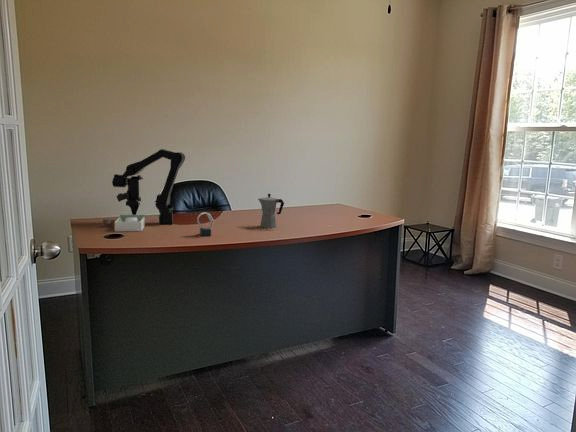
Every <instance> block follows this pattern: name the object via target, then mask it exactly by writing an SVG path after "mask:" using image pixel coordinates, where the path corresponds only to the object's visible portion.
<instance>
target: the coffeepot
mask: <svg viewBox="0 0 576 432" xmlns="http://www.w3.org/2000/svg"><path fill="white" fill-rule="evenodd" d="M257 200H258V201H259V204H260V206H261V212H262V215H261V218H260V219H261V220H260V225H259V227H261V228H263V229H275V228H277V221H276V220H277V219H276V214H277V215H281V213H282V210H283V208H284V205H285V202H284V200H283V199H282V198H274V197H271V193H268V194H267V197H260V198H258V199H257ZM278 203H280V204H279V208H278V212H276V209H277V204H278Z"/></svg>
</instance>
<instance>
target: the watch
mask: <svg viewBox="0 0 576 432" xmlns="http://www.w3.org/2000/svg"><path fill="white" fill-rule="evenodd" d="M205 214H206V217H207V218H208V220H209V222H210V225H209V226H207V227H203V225H202V224H201V222H200V217H201V216H202V215H205ZM196 219H197V220H196V222H197V224H198V226H199V227H200V228H199V235H200V236H201V237H211V236H212V230H211V228H212V227H213V225H214V222H215V220H214V218H213V216H212V215H211V213H210V212H201V213H199V214H198V216H197V218H196Z"/></svg>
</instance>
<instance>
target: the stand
mask: <svg viewBox="0 0 576 432" xmlns="http://www.w3.org/2000/svg"><path fill="white" fill-rule="evenodd" d="M102 227H103V228H110V227H112V219H110V218H103V219H102Z"/></svg>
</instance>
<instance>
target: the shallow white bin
mask: <svg viewBox="0 0 576 432" xmlns="http://www.w3.org/2000/svg"><path fill="white" fill-rule="evenodd" d="M120 220H121V217H120V216H119V217H118V218H117V219H116V220H115V221H114V232H142V231H143V229H144V227H145V225H146V216H145V217H143V218H142V220H141V221H140V222H119V221H120Z"/></svg>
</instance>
